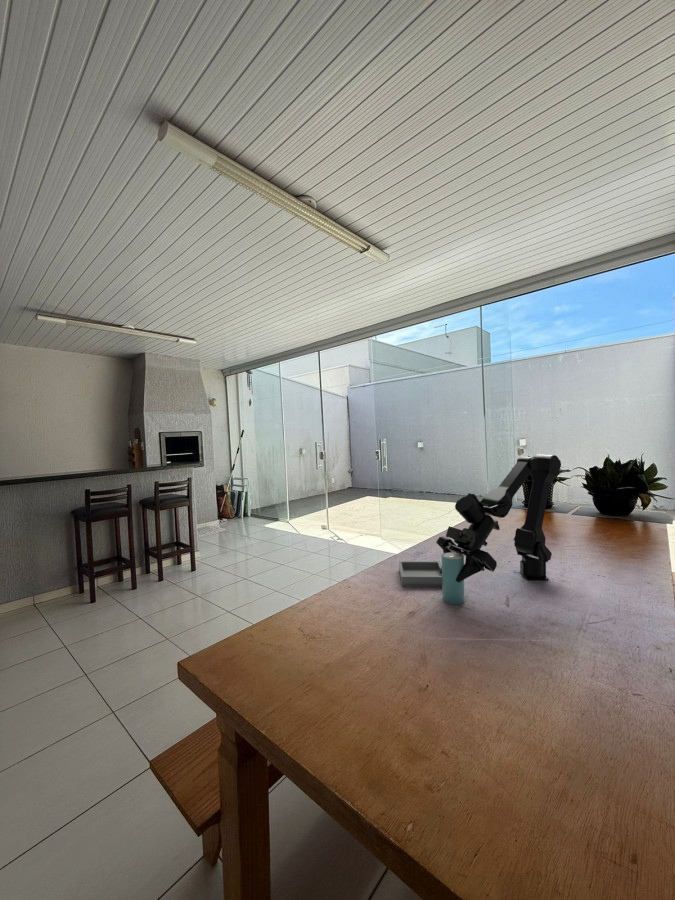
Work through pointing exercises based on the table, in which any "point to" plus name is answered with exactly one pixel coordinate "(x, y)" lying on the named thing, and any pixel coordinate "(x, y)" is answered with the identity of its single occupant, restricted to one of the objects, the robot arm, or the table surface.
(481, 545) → the robot arm
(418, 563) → the tray
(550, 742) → the table surface
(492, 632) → the table surface
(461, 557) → the teal cylinder
